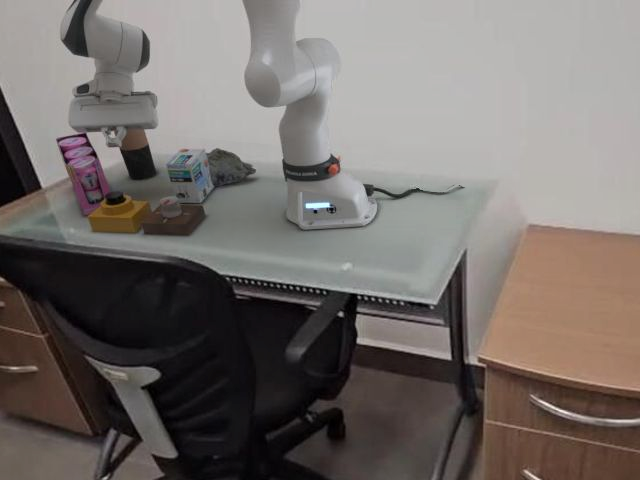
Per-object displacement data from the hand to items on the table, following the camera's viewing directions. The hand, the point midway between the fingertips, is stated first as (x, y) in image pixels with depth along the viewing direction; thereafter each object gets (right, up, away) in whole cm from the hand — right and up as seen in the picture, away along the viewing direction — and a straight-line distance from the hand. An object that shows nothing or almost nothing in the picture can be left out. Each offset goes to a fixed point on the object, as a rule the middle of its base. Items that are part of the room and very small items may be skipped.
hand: (113, 146), depth 147 cm
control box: (+1, -18, +3) cm, 18 cm away
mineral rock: (+22, -5, +20) cm, 30 cm away
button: (+1, -14, -1) cm, 14 cm away
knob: (+14, -16, -1) cm, 22 cm away
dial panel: (+15, -19, +1) cm, 24 cm away
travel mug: (-5, -1, +27) cm, 28 cm away
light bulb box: (+15, -9, +15) cm, 23 cm away
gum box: (-13, -9, +16) cm, 23 cm away
